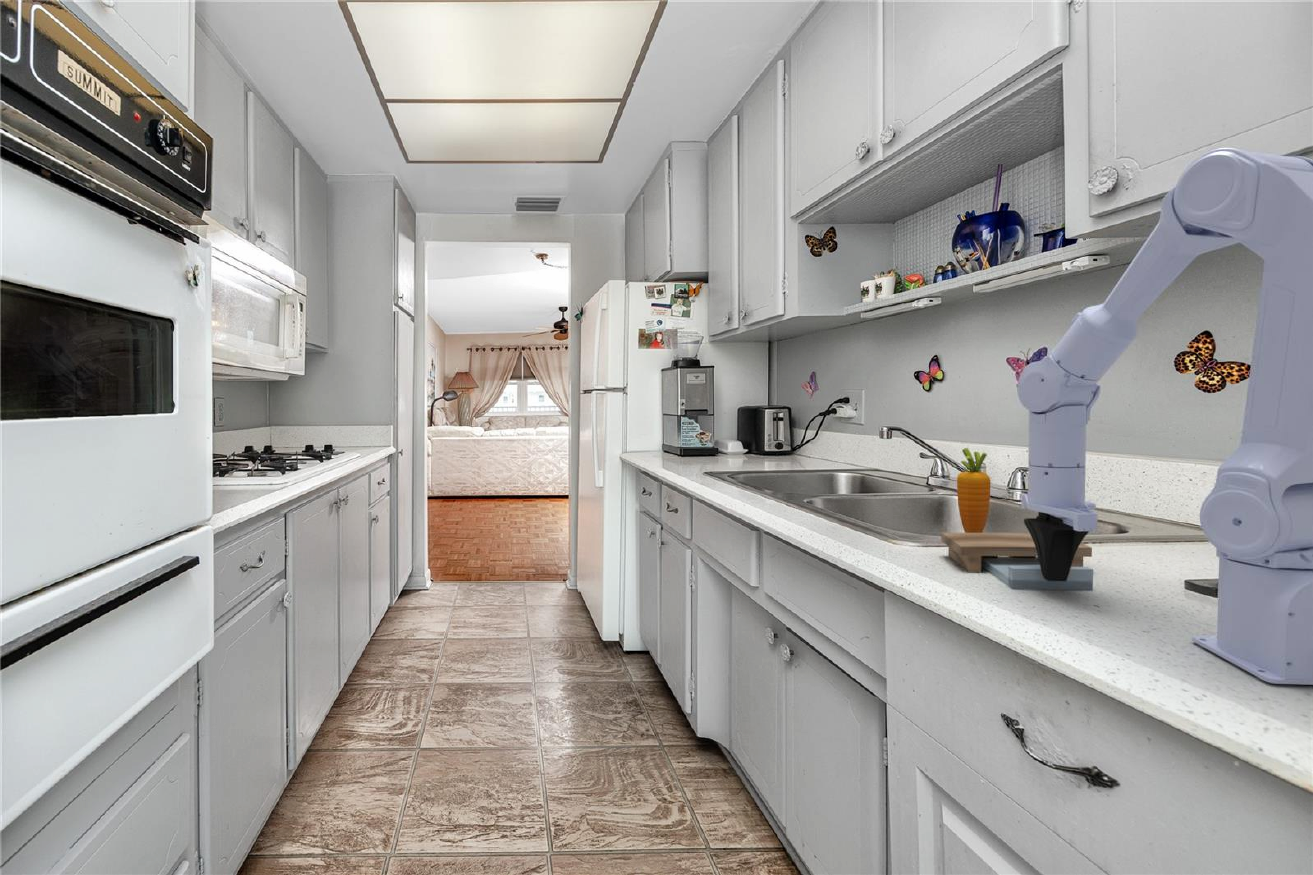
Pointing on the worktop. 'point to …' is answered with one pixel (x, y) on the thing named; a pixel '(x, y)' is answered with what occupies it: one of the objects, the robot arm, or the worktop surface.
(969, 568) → the bench
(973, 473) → the carrot
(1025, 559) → the light blue lipped plate
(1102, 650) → the worktop surface
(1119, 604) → the worktop surface
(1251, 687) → the worktop surface
